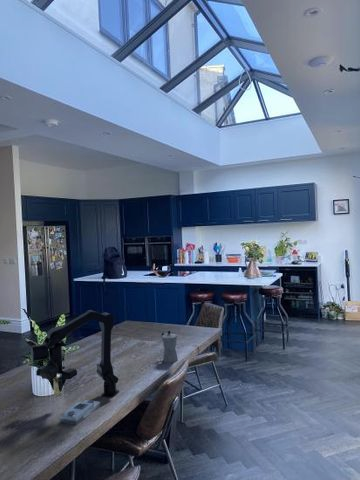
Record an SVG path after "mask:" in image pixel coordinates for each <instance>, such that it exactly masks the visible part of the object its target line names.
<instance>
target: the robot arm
mask: <svg viewBox="0 0 360 480" xmlns="http://www.w3.org/2000/svg"><path fill="white" fill-rule="evenodd" d="M115 319H116V318H115V317H114V315H113V314H110V313H108V312H106V311H105V312H102V313H101V312H98V311H95V310H92V309H89V310H87V311H85V312H84V313H82V314H80V315H78V316H77V317H76V318H74V319H72V320H69V322H67V323H64V324H62V325H58V326H55V327H52V328H50V329H49V330H48V331H47V333H46V337H45V338H44V339H43V342H42V344H38V345H34V344H33V345H31V349H30V360H31V361H32V363H34V362H39V361H44V360H46V365H43V366H41V367H39V368H37V369H36V371H35V372H36V373H35V375H36V376H37V377H38V376H39V377H42V379H41V380H44V379H46V380H48V382H50V383H49V384H50V387H51V389H52V391H53V392H54V385H53V378H54V377H59V378H57V380H58V381H59V391H60V392H61V393H62V391H63V388H64V386H65V384H66V381H67V380H71V379H73V378H74V377H76V376H77V375H78V370H77V369H76V368H71V367H70V368H67V369H65V368H66V367H65V366H64V362H63V361H64V360H65V357H63V347H67V343H66V342H64V339H65V338H66V337H67V336H68V335H69V334H70V333H72V332H74V331H75V330H77V329H78V328H81V327H82V326H83V325H86V324H87V323H89V322H90V321H96V322H98V324H99V328H100V331H101V345H100V346H101V349H100V352H101V353H100V362H99V363H96V373H97V375H98V376H99V378H101V380H103V393H101V396H103V397H113V398H114V396H115V395H117V394H118V393H119V392H120V390H119V389H117V383H119V377H118V376H116V375H115V374H114V367H113V364H112V361H111V356H112V354H111V353H112V331H113V329H114V325H115ZM47 358H48V360H47ZM58 375H59V376H58Z"/></svg>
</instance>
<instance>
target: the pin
mask: <svg viewBox="0 0 360 480" xmlns="http://www.w3.org/2000/svg"><path fill="white" fill-rule="evenodd" d="M59 377H60V376H57V377H54V378H53V385H54V391H53V397H55V398H60V397H62V391H61V392H60V391H59V381H58V380H57V378H59Z"/></svg>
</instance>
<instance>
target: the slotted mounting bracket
mask: <svg viewBox="0 0 360 480" xmlns="http://www.w3.org/2000/svg"><path fill="white" fill-rule="evenodd" d="M100 406H101V401H97V400H93V399H85V400H83V401H77V402H76V403H75V404H73V405H72V406H71V407H69V408H68V409H66V410H65V411H64V412H62V413H60V416H59V417H60V423H65V424H70V425H74V426H75V425H76V426H77V425H78V424H79V423H80V422H81V421H83V420H84V419H85V418H87V416H89V415H90V414H92V413H93V412H94V411H95V410H96V409H98V408H99V407H100Z"/></svg>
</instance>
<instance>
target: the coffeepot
mask: <svg viewBox="0 0 360 480" xmlns="http://www.w3.org/2000/svg"><path fill="white" fill-rule="evenodd" d="M177 339H178V335H177V334H176V333H171V330H168V331H167V333H166V332H162V333H161V340H162V344H163V348H164V349H163V355H162V361H163V363H167V364H170V363H171V364H172V363H176V362H178V354H177V350H176V347H177Z"/></svg>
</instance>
